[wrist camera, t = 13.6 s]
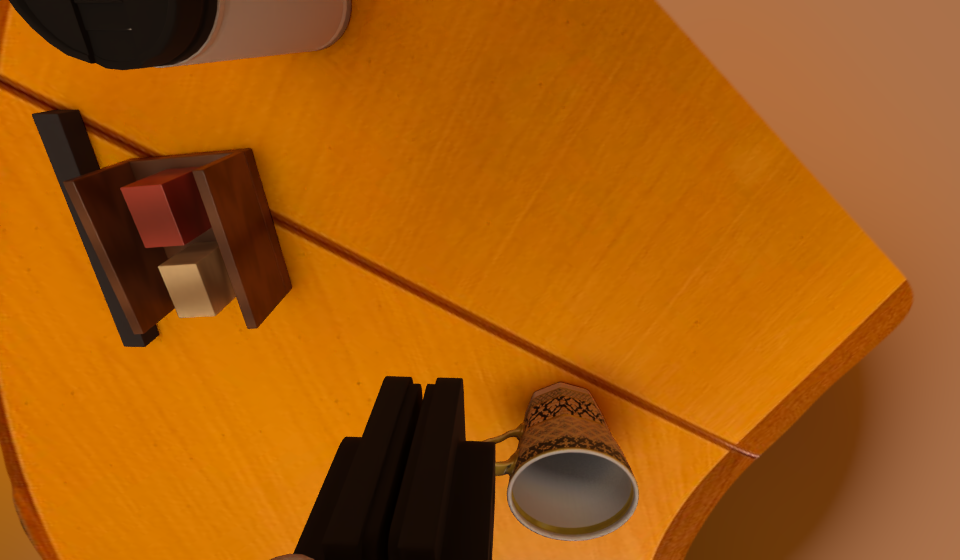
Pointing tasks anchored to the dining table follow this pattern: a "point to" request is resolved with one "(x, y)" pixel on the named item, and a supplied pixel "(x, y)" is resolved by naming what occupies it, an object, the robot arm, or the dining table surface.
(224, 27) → the travel mug
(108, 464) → the dining table surface
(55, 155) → the edge rail
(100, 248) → the open wooden box
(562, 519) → the ceramic cup
